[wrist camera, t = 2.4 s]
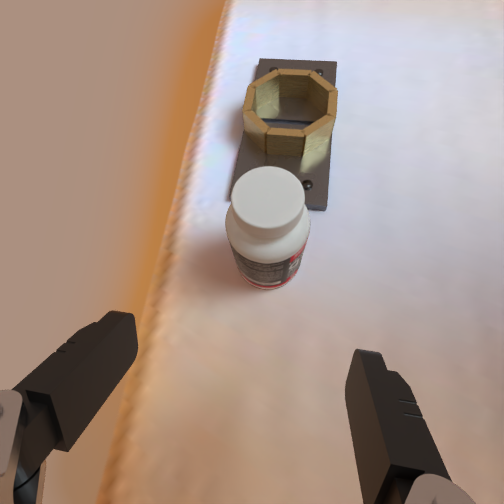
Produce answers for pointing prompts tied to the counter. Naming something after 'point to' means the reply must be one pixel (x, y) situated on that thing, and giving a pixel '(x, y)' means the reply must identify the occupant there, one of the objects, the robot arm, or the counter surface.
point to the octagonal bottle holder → (291, 123)
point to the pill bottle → (268, 226)
